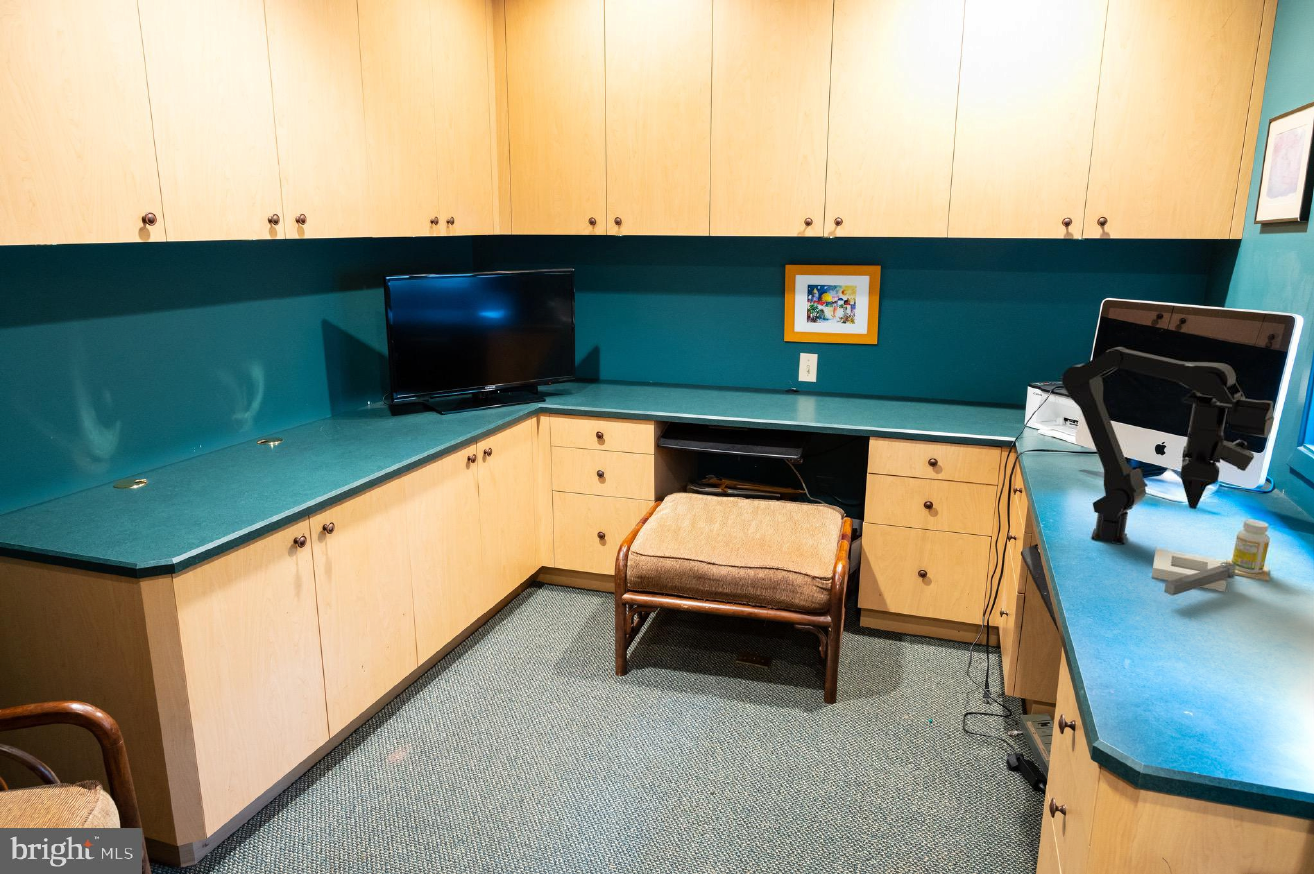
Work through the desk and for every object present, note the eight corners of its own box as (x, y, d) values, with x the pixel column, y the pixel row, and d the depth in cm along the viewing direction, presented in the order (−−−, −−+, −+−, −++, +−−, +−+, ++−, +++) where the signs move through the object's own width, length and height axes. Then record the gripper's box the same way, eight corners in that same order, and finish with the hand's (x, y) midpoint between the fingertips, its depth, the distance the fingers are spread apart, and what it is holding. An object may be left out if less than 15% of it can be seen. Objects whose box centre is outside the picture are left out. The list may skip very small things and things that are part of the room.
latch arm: (1223, 572, 165) (1225, 561, 165) (1236, 576, 163) (1238, 566, 163) (1161, 591, 156) (1163, 580, 156) (1174, 596, 154) (1176, 585, 154)
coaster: (1225, 561, 177) (1226, 559, 176) (1267, 568, 173) (1267, 566, 173) (1226, 573, 171) (1226, 570, 171) (1269, 581, 167) (1269, 578, 167)
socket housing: (1154, 557, 178) (1156, 548, 178) (1223, 569, 172) (1225, 560, 172) (1151, 577, 168) (1153, 567, 168) (1224, 591, 162) (1226, 581, 162)
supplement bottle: (1241, 573, 169) (1251, 527, 167) (1224, 562, 174) (1233, 518, 172) (1269, 574, 169) (1279, 528, 167) (1251, 563, 174) (1260, 518, 172)
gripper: (1257, 443, 159) (1242, 523, 163) (1253, 423, 175) (1238, 497, 179) (1187, 435, 165) (1173, 512, 169) (1189, 416, 180) (1176, 487, 184)
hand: (1192, 502), depth 175 cm, fingers open, 9 cm apart
